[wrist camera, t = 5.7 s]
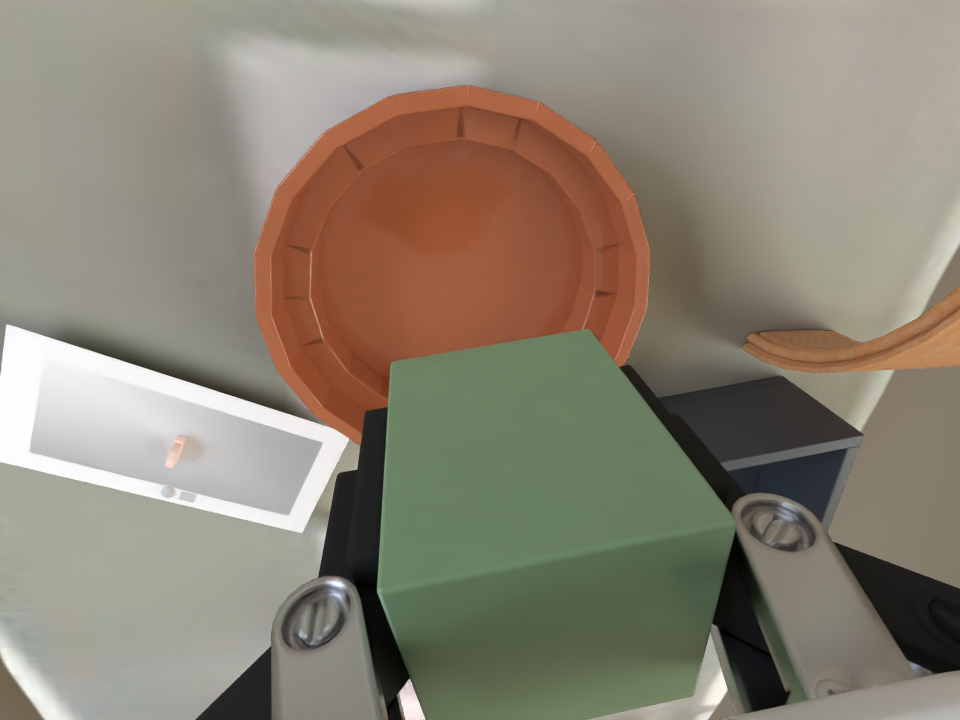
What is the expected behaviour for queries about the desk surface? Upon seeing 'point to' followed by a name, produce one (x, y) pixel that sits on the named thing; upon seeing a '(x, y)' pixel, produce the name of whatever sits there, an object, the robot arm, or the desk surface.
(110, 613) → the desk surface
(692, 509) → the block
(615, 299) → the bowl
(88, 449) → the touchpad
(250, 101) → the desk surface
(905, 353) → the arch
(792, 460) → the bin
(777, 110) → the desk surface
